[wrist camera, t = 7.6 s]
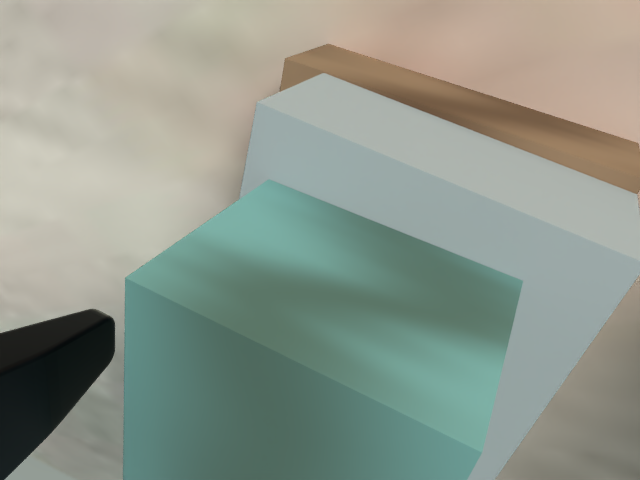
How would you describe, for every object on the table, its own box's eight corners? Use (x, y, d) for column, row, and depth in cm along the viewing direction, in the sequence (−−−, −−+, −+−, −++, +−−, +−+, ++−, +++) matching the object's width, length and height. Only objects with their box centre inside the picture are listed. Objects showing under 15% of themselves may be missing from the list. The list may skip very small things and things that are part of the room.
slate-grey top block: (637, 194, 11) (646, 264, 8) (493, 419, 15) (471, 511, 12) (323, 73, 13) (257, 102, 10) (267, 303, 16) (208, 364, 14)
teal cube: (523, 281, 9) (482, 453, 6) (434, 460, 12) (373, 647, 9) (268, 178, 11) (124, 277, 8) (238, 362, 13) (123, 493, 10)
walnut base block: (637, 137, 13) (645, 179, 11) (509, 372, 17) (494, 440, 15) (335, 41, 15) (285, 58, 13) (286, 272, 19) (242, 318, 17)
